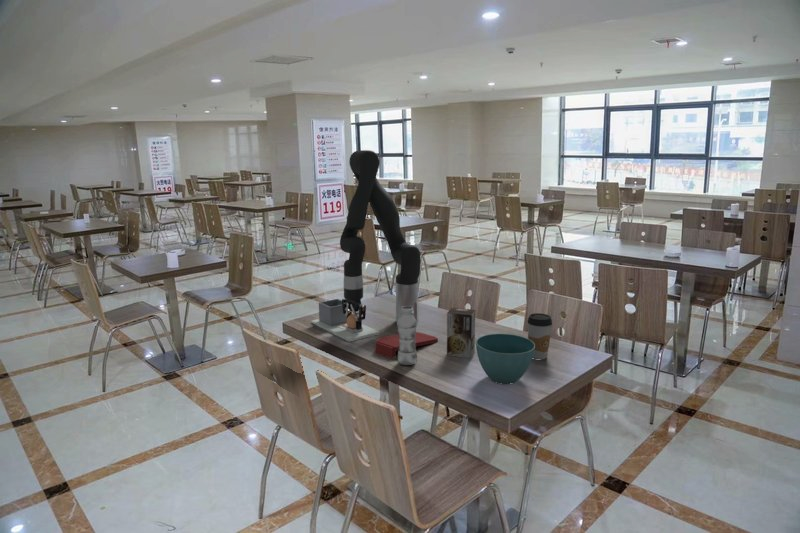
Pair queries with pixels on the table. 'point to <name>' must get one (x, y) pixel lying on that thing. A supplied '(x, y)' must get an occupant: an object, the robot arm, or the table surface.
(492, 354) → the teal bowl
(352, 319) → the ball
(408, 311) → the plastic bottle
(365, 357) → the table surface
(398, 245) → the robot arm
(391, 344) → the carton
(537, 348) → the coffee cup
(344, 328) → the ball rack
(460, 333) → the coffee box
